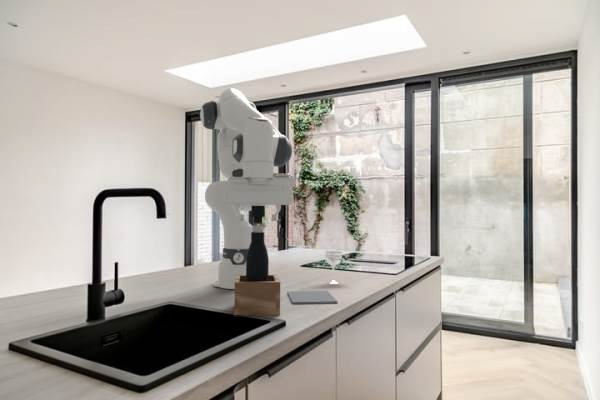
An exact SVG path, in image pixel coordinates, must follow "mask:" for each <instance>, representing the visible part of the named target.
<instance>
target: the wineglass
mask: <svg viewBox="0 0 600 400" xmlns="http://www.w3.org/2000/svg"><path fill="white" fill-rule="evenodd" d="M324 259H325V262H326V263H327V264H328V265H330V266H331V268H332V270H331V271H332V280H329V281H327V282H326V283H327V284H340V282H339V281H337V280H334V279H335V267H336V265H338V264H340V263H341V261H342V260H343V256H342V251H337V250H334V251H333V250H328V251H325V255H324Z"/></svg>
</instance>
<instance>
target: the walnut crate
mask: <svg viewBox="0 0 600 400" xmlns="http://www.w3.org/2000/svg"><path fill="white" fill-rule="evenodd" d="M233 308H234V310H233V311H234V312H233V313H234V317H236V316H235V315H255V316H280V315H281V281H280V279H279V276H278V274H268V281H264V282H246V275H236V278H235V289H234V307H233Z"/></svg>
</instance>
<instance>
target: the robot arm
mask: <svg viewBox="0 0 600 400" xmlns="http://www.w3.org/2000/svg"><path fill="white" fill-rule="evenodd" d="M199 117H200V121H201V124H202V126H203V127H204V128H205V129H206V130H207V129H208V130H213V131H214V130H219V132H218V134H217V138H216V140H217V141H216V149H217V152H216V153H217V157H218V158H217V159H218V164H219V170H220V172H221V174H222V175H223V176H224V177H225V178H226V179H227V180H220V181H215V182H211V183H210V184H208V186H207V187H206V189H205V191H204V200H205V202H206V205H207V206H208V208H210V209H211V210H213V211H214V212H215V213H216V215H217V216H218V219H220V221H221V224H222V228H223V229H222V230H223V247H222V258H223V259H222V260H221V261H220V262H219V263H218V264H217V265H218V266H217V269H218V271H217V280H216V281H214V282H213V283H212V287H217V288H222V289H229V290H235V278H236V275H246V258H247V253H248V249H249V246H250V244H251V232H253V231H252V230H253V228H252V227H253V226H254V225H252V224H251V223H250V222H249V221H247V220H245V214H243V213H242V212H247V211H248V212H250V211H251V206H265V210H266V209H268V208H269V207H270V206H274V205H275V209H276V211H275V212H274V214H271V221H273V222H274V221H275V222H278V214H279V213H280V212H281V209H282V206H291V205H292V204H293V203H294V192H293V189H294V186H295V179H294V176H293V175H291V174H289V173H279V172H278V173H277V172H276V173H275V169H274V167H277V168H282V167H284V166H285V165H286V164H288V162H289V161H290V160H291V159H292V154H293V147H292V144H291V142H290V140H289V138H287V136H286V135H285V134H282V133H281V132H280V131H279V130H278V129H277V128H276V126H275V125H274V124H273V122H272V120H270V119H269V118H268V117H266V115H264V114H262V113H261V112H259V110H257V107H256V104H254V102H252V101H249V100H248V99H247V97H246V96H245V95H244V93H243V92H241V91H240V89H239V90H238V89H237V88H231V87H230V88H227V89H225V90H224V91H222V93H220V95H219V99H218V100H217V101H214V100H211V101H207V102H205V103H204V104H203V105H201V109H200V112H199ZM241 211H242V212H241Z"/></svg>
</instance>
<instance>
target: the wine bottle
mask: <svg viewBox="0 0 600 400" xmlns="http://www.w3.org/2000/svg"><path fill="white" fill-rule="evenodd" d="M265 212H266V209H265V206H251V213H250V216H251V217H253V225H252V226H253V227H252V228H253V230H252V231H253V232H251V244H250V246H249V249H248V253H247V258H246V282H264V281H268V275H269V263H270V262H269V254H268V250H267V247H266V244H265V232H264V225H262V224H263V218H265V215H266V214H265Z"/></svg>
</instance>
